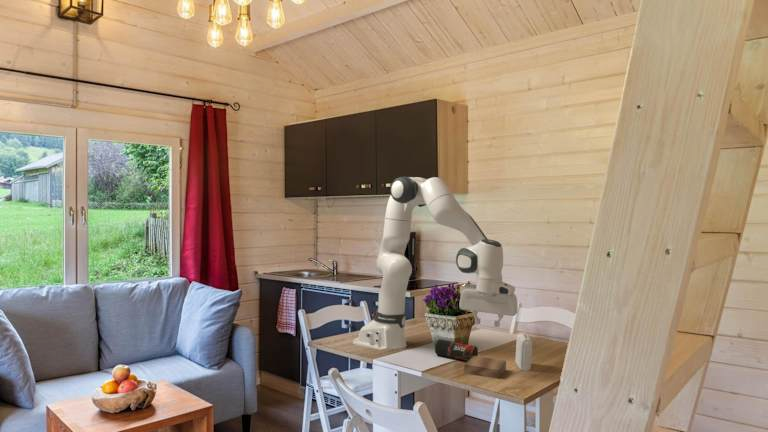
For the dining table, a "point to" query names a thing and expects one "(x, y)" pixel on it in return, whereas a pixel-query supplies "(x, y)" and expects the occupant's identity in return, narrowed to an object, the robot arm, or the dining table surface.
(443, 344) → the deodorant
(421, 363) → the dining table surface
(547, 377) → the dining table surface
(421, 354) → the dining table surface
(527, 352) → the photo printer
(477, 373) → the walnut block
